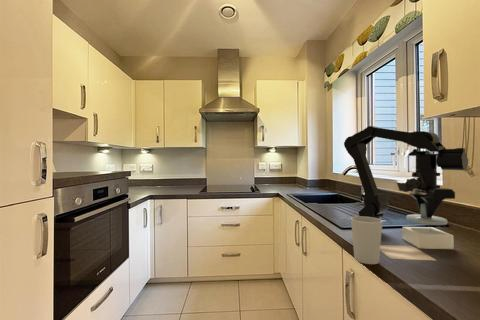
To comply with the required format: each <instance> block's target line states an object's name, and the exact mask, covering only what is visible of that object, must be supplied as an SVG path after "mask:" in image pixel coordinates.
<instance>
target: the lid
mask: <svg viewBox="0 0 480 320" xmlns="http://www.w3.org/2000/svg"><path fill="white" fill-rule="evenodd" d="M406 220H407V221H409V222H412V223H416V224H421V225H429V226H430V225H431V226H446V225H448V219H447V218H444V217H441V216H437V215H436V216H435V215H432V217H431V218H428V217H427V214H426V207H425V204H421V214H420V213H419V214H415V213H414V214H407V215H406Z"/></svg>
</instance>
